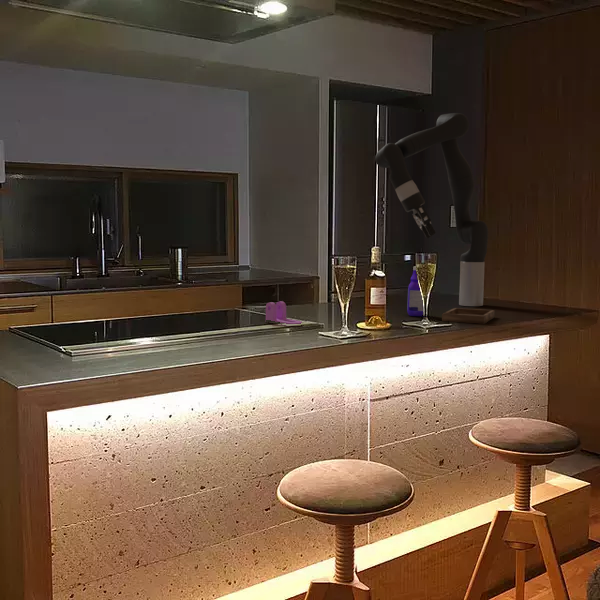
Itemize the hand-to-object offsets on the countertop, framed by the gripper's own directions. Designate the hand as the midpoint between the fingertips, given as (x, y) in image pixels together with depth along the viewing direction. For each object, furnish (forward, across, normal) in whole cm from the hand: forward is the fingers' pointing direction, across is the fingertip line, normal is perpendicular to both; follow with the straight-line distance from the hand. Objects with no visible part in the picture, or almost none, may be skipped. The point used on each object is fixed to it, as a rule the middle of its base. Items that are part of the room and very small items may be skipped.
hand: (431, 236), depth 278 cm
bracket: (+4, -28, +60) cm, 66 cm away
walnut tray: (+31, -10, +4) cm, 33 cm away
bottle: (+23, -3, +18) cm, 29 cm away
